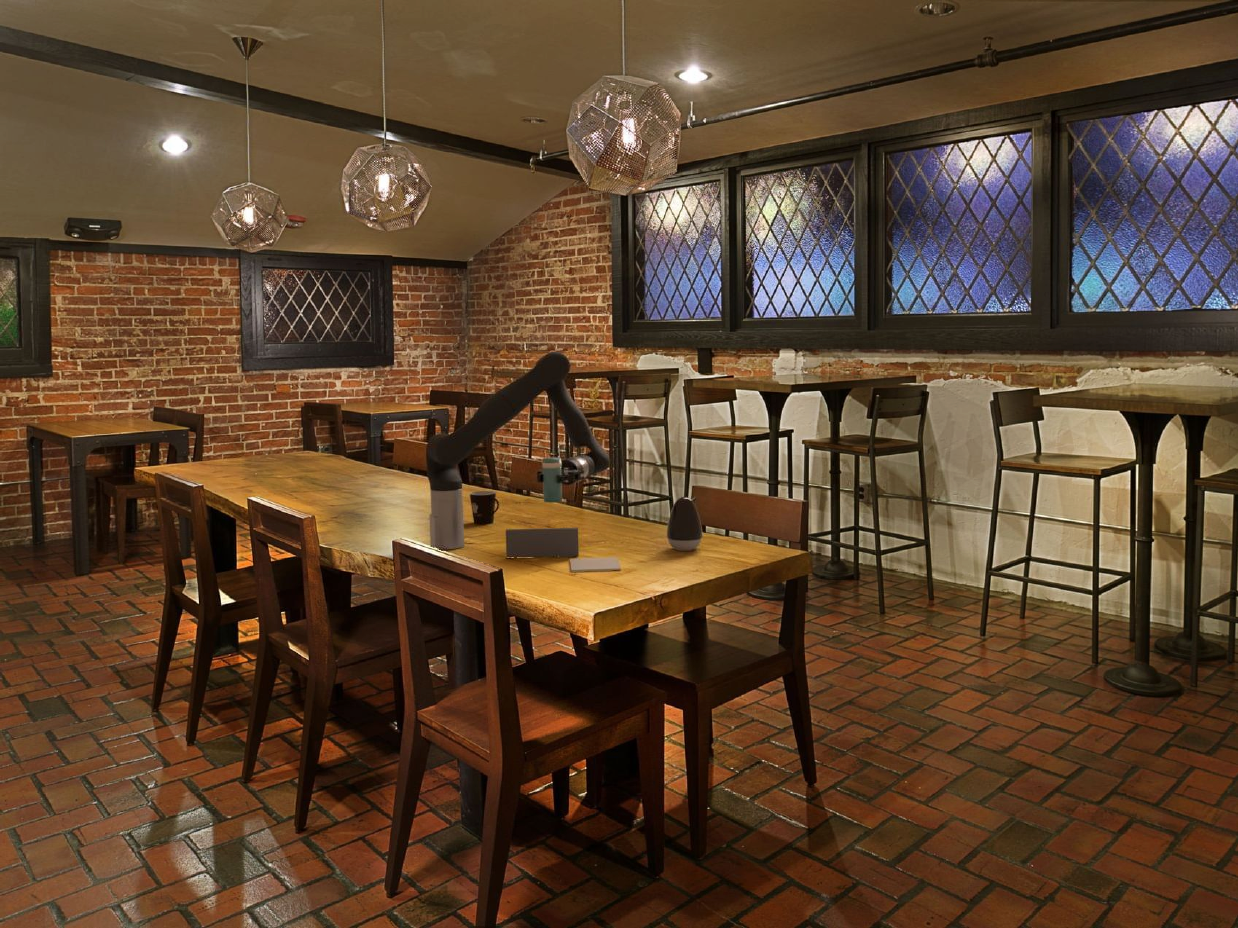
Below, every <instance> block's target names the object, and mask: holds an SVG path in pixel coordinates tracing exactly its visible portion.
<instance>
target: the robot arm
mask: <svg viewBox="0 0 1238 928" xmlns="http://www.w3.org/2000/svg"><path fill="white" fill-rule="evenodd" d="M570 370H571V362H570V359H569V357H568V356H567V355H566V354H564V353H562V352H559V351H552V352H548V353H547V354H545V355H543V356H541V357H540V358H539V359H538V360H537V362H536V363H535V366H534V367H532V368H531V369H530V370H529V371H528V372H526V373H525V374H524V375H523V376H520V377H519V378H517V379H515V380H514V381H512V382H510V383H508V384H507V385H505V386H503V387H501V388H500V389H499V390H497V391H496V392H495V393H493V394H492V395H490V396H489V397H488V398H487V399H486V400H485V401H484V402H482V403H481V404H480V406H479V407H477V410H476V411H475V413H473V415H472V416H471V417H470V419H469V420H468V421H467V422H466V423H465V424H464V425H462V426H460V427H459V428H458V429H456V430H454V431H452V432H451V433H449V434H447V433H443V432H442V433H436V434H434V435H432V436H431V437H430V438H429V440H428V441H427V443H426V448H425V460H426V474H427V478H428V479H427V480H428V482H429V487H430V492H429V493H430V509H431V510H430V514H429V531H430V532H429V536H430V539H429V540H430V547H432V546H433V547H436V548H439V549H438V550H454V549H460V548H463V547H465V531H464V530H465V528H464V526H465V525H464V500H463V497H464V496H463V479H462V478H461V476H460V475H459V471H458V468H457V467H458V464H460V463H461V462H462V461H464V459H465V458H467V456H468V455H469V454H470V453H471V452H472V451H473V450H475V449H476V448H477V447H478V446H479V445H480V444H481V443H482V442H484V440H486V439H487V438H489V437H490V436H492V435H493V434H495V433H496V432H497V431H499V430H500V429H501V428H502V427H504V426H505V425H508V423H509V422H511V421H512V420H513V419H514V418H515V417H517V416H518V415H520V414H521V412H522V411H524V410H525V409H526V408H527V407H528V406H529V405H530V404H531V403H532V402H534V400H536V398H538V396H539V395H541V394H542V393H544V392H545V393H546V394H547V396H548V399H550V401H551V403H552V405H553V407H554V408H555V410H556V412H557V414H558V415H559V418H560V420H561V422H562V425H563V426H564V429H565V431H566V434H567V436H568V438H569V440H570V443H571V444H572V446H573V448H576V449H579V448H584V447H585V448H587V449H588V450H590V451H588V452H586V453H584V454H580V455H576V456H571V457H569V458H568V457H567V458H565V459H561V462H562V467H561V470H562V474H560V475H557V483H562V486H563V485H564V486H571V485H574V484H576V483H580V482H581V481H583V480H585V479H587V478H588V477H589V478H590V477H592V476H594V475H597V474H599V473H602V472H604V471H606V470H608V469H609V468H610V464H611V463H610V462H611V459H610V456H609V454H608V452H607V451H606V450H605V449H604V447H603V446H602V445H601V444H600V443H599V441H598V440H597V439H596V437H595V436H594V434H593V432H592V430H591V427H590V424H589V422H588V421H587V418H586V417H585V414H584V413H583V412H582V410H581V409H580V407H579V406H578V405H577V404H576V402H575V401H574V400H573V398H572V396H571V395H570V393H569V391H568V388H567V387H566V383H565V379H566V378H567V377H568V375H569V373H570ZM536 480H537V482H538V483H543V468H540V469H538V470H537V471H536ZM433 547H432V548H433Z"/></svg>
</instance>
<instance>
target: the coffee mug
mask: <svg viewBox="0 0 1238 928" xmlns="http://www.w3.org/2000/svg"><path fill="white" fill-rule="evenodd" d="M496 493H497V492H496V491H493V490H476V491H471V492H469V498H470V506H471V512H472V519H473V524H474V525H480V526H481V525H484V526H485V525H492V524H494V520H495V513H497V511H498V510H499V507H500V503H499V500H498V499H497V497H496V496H497V494H496ZM495 506H496V507H495Z"/></svg>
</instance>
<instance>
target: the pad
mask: <svg viewBox="0 0 1238 928" xmlns="http://www.w3.org/2000/svg"><path fill="white" fill-rule="evenodd" d="M569 562H570V571H571V573H585V572H584V571H593V572H611V571H610V570H621V571H622V568H621V563H620V560H619V558H618V557H587V558H583V557H582V558H570V559H569Z"/></svg>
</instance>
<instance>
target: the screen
mask: <svg viewBox="0 0 1238 928" xmlns="http://www.w3.org/2000/svg"><path fill="white" fill-rule="evenodd" d="M505 547H506V548H505V551H506V552H505V555H506V556H505V557H510V558H511V557H514V558H517V557H554V558H568V557H567V556H579V555H580V554H579V549H580V548H579V527H553V528H552V527H551V528H549V527H548V528H546V527H545V528H516V529H515V528H514V529H511V528H510V529H507V528H506V529H505ZM558 556H559V557H558Z"/></svg>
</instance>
